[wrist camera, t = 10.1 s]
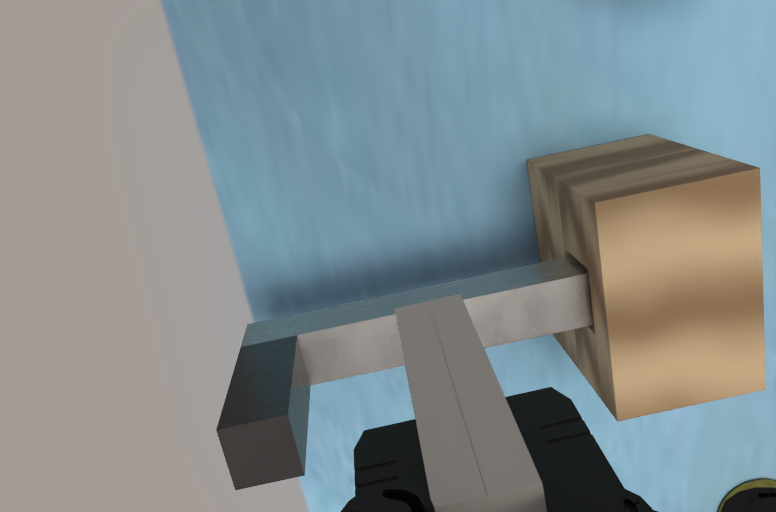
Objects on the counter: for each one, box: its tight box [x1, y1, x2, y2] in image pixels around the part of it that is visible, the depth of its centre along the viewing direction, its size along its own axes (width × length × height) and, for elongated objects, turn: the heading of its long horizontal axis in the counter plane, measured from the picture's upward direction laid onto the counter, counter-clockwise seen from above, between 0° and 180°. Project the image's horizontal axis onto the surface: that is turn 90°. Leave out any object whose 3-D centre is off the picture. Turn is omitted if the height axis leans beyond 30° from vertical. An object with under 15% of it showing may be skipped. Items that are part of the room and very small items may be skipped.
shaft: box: [217, 256, 594, 490], centre depth 34 cm, size 3×25×11 cm, turn 101°
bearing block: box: [527, 134, 766, 421], centre depth 40 cm, size 12×8×12 cm, turn 11°
